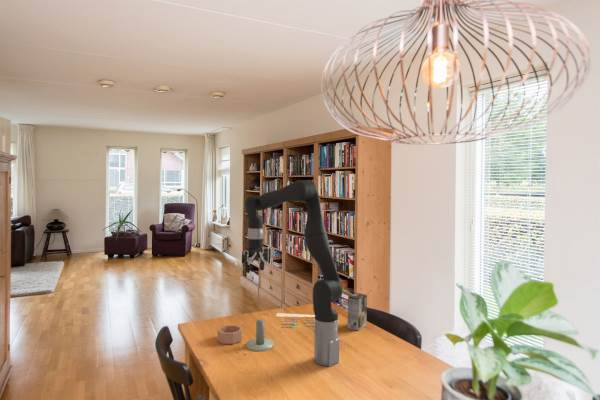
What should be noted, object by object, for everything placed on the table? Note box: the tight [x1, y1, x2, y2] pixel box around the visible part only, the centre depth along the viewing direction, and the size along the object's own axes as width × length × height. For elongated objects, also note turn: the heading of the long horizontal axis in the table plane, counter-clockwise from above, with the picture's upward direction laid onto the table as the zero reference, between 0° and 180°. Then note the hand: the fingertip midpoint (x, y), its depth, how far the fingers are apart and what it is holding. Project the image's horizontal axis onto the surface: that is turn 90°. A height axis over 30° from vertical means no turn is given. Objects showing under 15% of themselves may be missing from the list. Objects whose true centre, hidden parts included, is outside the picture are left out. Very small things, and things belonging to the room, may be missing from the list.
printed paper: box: [275, 312, 315, 331], centre depth 203 cm, size 30×30×2 cm
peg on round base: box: [245, 319, 275, 352], centre depth 175 cm, size 12×12×11 cm
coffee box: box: [347, 292, 368, 331], centre depth 200 cm, size 9×6×16 cm
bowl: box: [217, 324, 243, 345], centre depth 180 cm, size 10×10×5 cm
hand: (255, 271), depth 190 cm, fingers open, 8 cm apart
